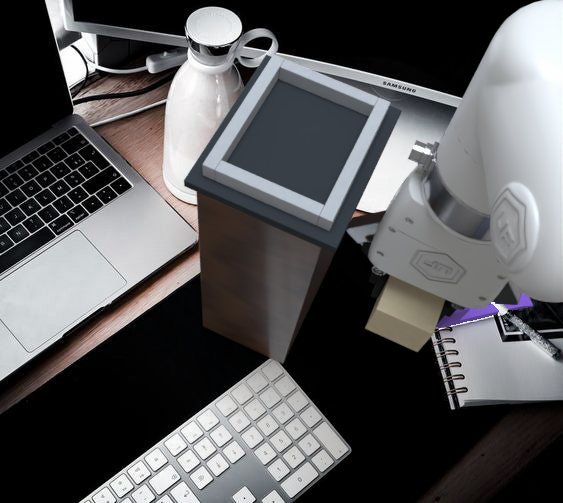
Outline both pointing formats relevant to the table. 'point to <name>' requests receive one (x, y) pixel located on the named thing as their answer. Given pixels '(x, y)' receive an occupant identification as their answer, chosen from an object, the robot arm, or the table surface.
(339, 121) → the base pad
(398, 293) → the beige rectangular block
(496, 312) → the bracket
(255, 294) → the riser
